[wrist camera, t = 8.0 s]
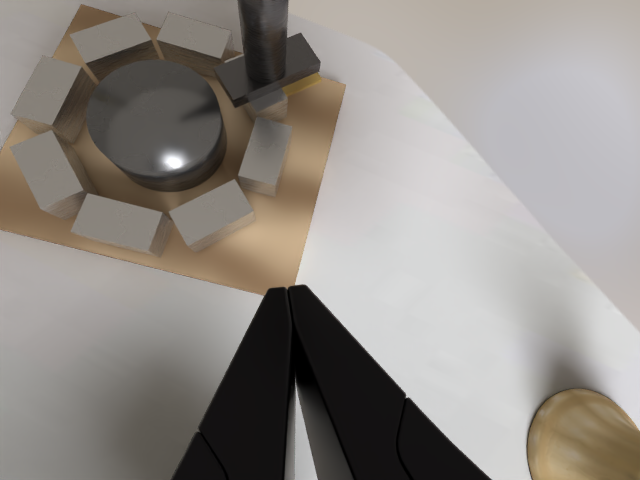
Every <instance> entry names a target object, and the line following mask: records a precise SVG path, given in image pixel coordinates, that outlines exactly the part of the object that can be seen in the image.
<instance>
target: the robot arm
mask: <svg viewBox="0 0 640 480" xmlns="http://www.w3.org/2000/svg"><path fill="white" fill-rule="evenodd" d="M295 379H296V386H297V391H298V396H299V401H300V405H301V409H302V414H303V418H304V422H305V427H306V431H307V435H308V439H309V444H310V448H311V452H312V457H313V461H314V465H315V469H316V474H317V478H318V480H492V479H490V478H489V477H488V476H487V475H486V474H485V473H484V472H483V471H482V470H481V469H480V468H479V467H477V466H476V465H475V464H474V463H473V462H472V461H471V460H470V459H469V458H468V457H467V456H466V455H465V454H464V453H463V452H462V451H460V450H459V449H458V448H457V447H456V446H455V445H454V444H453V443H452V442H451V441H450V440H449V439H448V438H447V437H446V436H445V435H444V434H443V433H442V432H441V431H440V430H439V429H438V428H437V427H436V425H435V424H434V423H433V422H432V421H431V420H430V419H429V418H428V417H427V416H426V415H425V414H424V413H423V412H422V411H421V410H420V409H419V407H418V406H417V405H416V404H415V403H414V402H413V401H412V400H411V399H410V398H409V397H408V398H406V394H405V392H404V391H403V390H402V389H401V388H400V387H399V386H398V385H397V384H396V382H395V381H394V380H393V379H392V378H391V377H390V376H389V375H388V374H387V373H386V372H385V370H384V369H383V368H382V367H381V366H380V365H379V364H378V363H377V362H376V361H375V360H374V358H373V357H372V356H371V355H370V354H369V353H368V352H367V351H366V350H365V349H364V348H363V346H362V345H361V344H360V343H359V342H358V341H357V340H356V339H355V338H354V337H353V336H352V334H351V333H350V332H349V331H348V330H347V329H346V328H345V327H344V326H343V325H342V324H341V322H340V321H339V320H338V319H337V318H336V317H335V316H334V315H333V314H332V313H331V312H330V310H329V309H328V308H327V307H326V306H325V305H324V304H323V303H322V302H321V301H320V300H319V298H318V297H317V296H316V295H315V294H314V293H313V292H312V291H311V290H310V289H309V288H308V286H306V285H294V286H289V287H288V290H287V288H286V287H274V288H269V289H268V290H267V292H266V294H265V296H264V298H263V300H262V302H261V304H260V306H259V308H258V310H257V312H256V314H255V315H254V317H253V319H252V321H251V323H250V325H249V327H248V329H247V331H246V333H245V335H244V337H243V339H242V341H241V343H240V345H239V347H238V349H237V351H236V353H235V355H234V357H233V359H232V361H231V363H230V365H229V367H228V369H227V371H226V373H225V375H224V377H223V379H222V381H221V383H220V385H219V387H218V389H217V391H216V393H215V395H214V397H213V399H212V401H211V403H210V405H209V406H208V408H207V410H206V412H205V414H204V416H203V418H202V420H201V422H200V424H199V426H198V431H199V432H196V433H195V434H194V436H193V438H192V440H191V442H190V444H189V446H188V448H187V450H186V452H185V453H184V455H183V457H182V459H181V461H180V463H179V465H178V467H177V469H176V470H175V472H174V474H173V476H172V478H171V480H294V477H295V410H296V386H295Z"/></svg>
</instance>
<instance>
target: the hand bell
mask: <svg viewBox="0 0 640 480" xmlns="http://www.w3.org/2000/svg"><path fill="white" fill-rule="evenodd" d="M528 462H529V468H530V472H531V476H532V479H533V480H640V431H639V430H638V428H637V426H636V425H635V423H634V422H633V421H632V419H631V418H630V417H629V416H628V415H627V414H626V413H625V412H624V411H623V410H622V409H621V408H620V407H619V406H618V405H617V404H615V403H614V402H613V401H612V400H610V399H609V398H607V397H605V396H603V395H601V394H599V393H597V392H594V391H591V390H586V389H569V390H565V391H562V392H559V393H557V394H555V395H554V396H552V397H550V398H549V399H548V400H546V401H545V402H544V404H543V405H542V406H541V407H540V409H539V410H538V412H537V414H536V415H535V417H534V419H533V422H532V425H531V428H530V431H529V437H528Z"/></svg>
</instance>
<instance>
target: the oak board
mask: <svg viewBox="0 0 640 480" xmlns="http://www.w3.org/2000/svg"><path fill="white" fill-rule="evenodd" d="M120 17H122V16H118V15H115V14H112V13H108V12H105V11H102V10H99V9H95V8H92V7H89V6H85V5H82V4H81V6H80V8H79V9H78V11H77V13H76V15H75V17H74V19H73V20H72V22H71V24H70V26H69V28H68V29H67V31H66V33H65V35H64V37H63V39H62V40H61V42H60V44H59V46H58V48H57V50H56V51H55V53H54V55H53V57H52V58H54V59H57V60H61V61H64V62H68V63H71V64H75V65H78V66H82V68H83V69H84V70H85V71H86V73H87V74H88V75H89V77H90V78H91V79H92V80H93V82H94V83H95V84H96V86H97V85H98V84H99V83H100V82H99V81H98V79H97V78H96V77H95V75H94V74H93V73H92V71H91V70H90V69H89V68H88V66H87V65H86V64H85V62H84V60H83V58H82V56H81V55H80V53H79V51H78V49H77V47H76V46H75V44H74V42H73V40H72V38H71V37H70V34H72V33H75V32H78V31H81V30H84V29H87V28H90V27H93V26H96V25H99V24H102V23H105V22H108V21H111V20H114V19H117V18H120ZM142 25H143V27H144V28H145V30H146V32H147V33H148V35H149V37H150V38H151V40H152V42H153V44H154V47H155V49H156V51H157V53H158V56H159V58H160V60H165V59H164V56H163V54H162V52H161V49H160V47H159V45H158V42H157V40H156V39H157V37H158V34H159V32H160V30H161V28H158V27H154V26H151V25H148V24H145V23H142ZM234 53H235V56H234V57H236V56H239V55H241V54H243V53H240V52H237V51H234ZM198 74H199V75H200V76H202V77H203V78H204V79H205V80H206V81H207V82H208V83H209V85H210V86H211V88H212V89H213V91H214V93H215V95H216V97H217V100H218V103H219V107H220V110H221V114H222V118H223V122H224V125H225V129H226V134H227V150H226V154H225V157H224V160H223V162H222V164H221V165H220V167H219V168H218V170H217V171H216V172H215V173H214V174H213V175H212V176H211V177H210V178H209V179H208V180H206V181H205V182H203V183H202V184H200V185H198V186H196V187H193V188H191V189H188V190H184V191H179V192H159V191H154V190H150V189H147V188H144V187H142V186H140V185H138V184H137V183H135V182H133V181H132V180H131V179H130V178H128V177H127V176H126V175H125V174H124V173H123V172H122V171H121V170H120V169H119V168H118V167H117V166H116V165H114V164H113V163H112V162H111V161H110V160H109V159H108V158H107V157H106V156H105V155H104V154H103V153H102V152H101V151H100V150H99V149H98V148H97V147H96V145H95V144H94V142H93V140H92V139H91V136H90V134H89V132H88V128H87V122H86V119H85V121H84V123H83V125H82V127H81V130H80V132H79V134H78V136H77V138H76V140H75V142H74V144H73V143H69V142H67V143H68V144H69V145H71V146H72V147H73V148H74V150H75V151H76V153H77V155H78V157H79V159H80V161H81V163H82V165H83V167H84V168H85V170H86V172H87V174H88V176H89V178H90V180H91V182H92V183H93V185H94V187H95V189H96V191H97V193H98V195H99V196H101V197H105V198H109V199H113V200H116V201H120V202H124V203H128V204H132V205H136V206H140V207H144V208H148V209H151V210H155V211H159V212H163V213H164V214H165V215H166V216H167V217H168V218H169V219H170V220H172V221H173V219H172V218H171V216H170V214H169V211H171V210H173V209H175V208H177V207H179V206H181V205H183V204H185V203H187V202H189V201H191V200H193V199H195V198H197V197H199V196H201V195H203V194H205V193H207V192H209V191H211V190H213V189H215V188H218V187H220V186H222V185H224V184H226V183H228V182H230V181H232V180H234V179H235V180H236V182H237V184H238V185H239V187H240V189H241V185H240V181H239V178H238V174H239V171H240V167H241V164H242V161H243V158H244V155H245V152H246V149H247V146H248V143H249V140H250V137H251V133H252V130H253V127H254V123H253V121H252V120H251V118H250V117H249V115H248V113H247V112H246V110H245V109H244V107H243V105H242V106H239V107H237V108H235V107H234V106H233V104H232V103H231V101H230V99H229V98H228V96H227V94H226V93H225V91H224V90H223V88H222V86H221V85H220V83H219V81H218V80H217V78H214V77H210V76H207V75H203V74H200V73H198ZM345 87H346V85H345V84H342V83H339V82H335V81H332V80H329V79H326V78H322V77H320V75H319V74H318V72H317V73H315V74H312V75H310V76H308V77H305V78H303V79H301V80H299V81H296V82H294V83H292V84H289V85H287V86H285V87H283V88H282V90H283V92H284V93H285V95H286V96H287V98H288V104H287V117H286V118H284V119H282V120H280V121H277V122H278V123H282V124H285V125H289V126H292V136H291V145H290V148H289V152H288V155H287V159H286V162H285V166H284V169H283V173H282V176H281V180H280V183H279V187H278V190H277V194H276V197H271V196H267V195H264V194H260V193H256V192H252V191H249V190H245V189H241V190H242V192H243V194H244V195H245V197H246V199H247V200H248V202H249V204H250V205H251V207H252V209H253V210H254V214H255V219H256V221H255V222H253V223H251V224H249V225H248V226H246V227H244V228H242V229H240V230H238V231H236V232H235V233H233V234H231V235H229V236H227V237H225V238H223V239H221V240H220V241H218V242H216V243H214V244H212V245H210V246H208V247H206V248H205V249H203V250H201V251H199V252H197V253H196V252H194V251H193V250H192V249H190V248H189V247H188V246H187V244H186V243H185V241H184V239H183V237H182V235H181V234H180V232H179V230H178V228H177V227H176V225H175V223H174V224H173V226H172V229H171V232H170V235H169V237H168V240H167V243H166V246H165V248H164V251H163V254H162V257H157V256H153V255H149V254H145V253H141V252H136V251H132V250H128V249H124V248H120V247H116V246H112V245H108V244H104V243H100V242H96V241H92V240H89V239H87V238H84V237H82V236H80V235H77V234H75V233H72V232H70V231H71V229H72V227H73V225H74V222H75V220H76V218H77V216H78V214H77V215H75V216H73V217H70V218H68V219H66V220H63V219H61V218H59V217H57V216H54V215H52V214H50V213H48V212H46V211H43V210H41V209H40V207H39V205H38V203H37V201H36V199H35V197H34V195H33V193H32V191H31V189H30V187H29V185H28V183H27V181H26V179H25V177H24V175H23V173H22V171H21V169H20V167H19V165H18V163H17V161H16V159H15V157H14V155H13V153H12V151H11V149H10V146H13V145H15V144H18V143H20V142H23V141H25V140H28V139H30V138H33V137H35V136H38V135H39V134H36V133H35V132H33V131H32V130H31V129H29V128H28V127H27V126H26V125H24V124H23V123H22V122H20V121H19V120H18V121H17V122H16V124H15V126H14V128H13V130H12V132H11V133H10V135H9V137H8V139H7V141H6V142H5V144H4V146H3V148H2V150H1V152H0V230H4V231H8V232H12V233H16V234H20V235H24V236H28V237H32V238H36V239H40V240H44V241H48V242H52V243H56V244H60V245H64V246H68V247H72V248H76V249H80V250H84V251H88V252H92V253H96V254H100V255H104V256H108V257H112V258H116V259H120V260H124V261H128V262H132V263H136V264H140V265H144V266H148V267H152V268H156V269H160V270H164V271H168V272H172V273H176V274H180V275H184V276H188V277H192V278H196V279H200V280H204V281H208V282H212V283H216V284H220V285H224V286H228V287H232V288H236V289H240V290H244V291H248V292H252V293H256V294H260V295H264V296H265V294H266V292H267V290H268V289H269V288H274V287H286V288H287V290H288V287H289V286H294V285H295V281H296V277H297V274H298V270H299V266H300V262H301V258H302V254H303V250H304V246H305V243H306V239H307V235H308V231H309V227H310V223H311V219H312V215H313V211H314V208H315V204H316V200H317V196H318V192H319V188H320V184H321V180H322V177H323V173H324V169H325V165H326V161H327V157H328V153H329V149H330V145H331V142H332V138H333V134H334V130H335V126H336V122H337V118H338V114H339V111H340V107H341V103H342V99H343V95H344V91H345ZM173 222H174V221H173Z"/></svg>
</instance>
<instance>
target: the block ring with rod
mask: <svg viewBox="0 0 640 480" xmlns="http://www.w3.org/2000/svg"><path fill="white" fill-rule="evenodd" d="M237 1H238V9H239V18H240V26H241V34H242V43H243V51H244V54H241V55H239V56H236V57H234V56H235V53H234V46H233V40H232V33H231V31H230V30H226V29H223V28H220V27H216V26H213V25H210V24H207V23H203V22H200V21H197V20H193V19H190V18H187V17H183V16H180V15H177V14H174V13H170V12H168V14H167V17H166V19H165V21H164V23H163V25H162V28H161V30H160V32H159V34H158V37H157V39H156V40H157V42H158V45H159V47H160V49H161V52H162V54H163V56H164V59H165V61H171V62H175V63H178V64H181V65H184V66H186V67H188V68H190V69H192V70H193V71H195V72H197V73H200V74H203V75H207V76H210V77H214V78H217V80H218V81H219V83H220V85H221V86H222V88H223V90H224V91H225V93H226V94H227V96H228V98H229V99H230V101H231V103H232V104H233V106H234V107H235V108H237V107H239V106H242V105H243V107H244V109H245V110H246V112H247V113H248V115H249V117H250V118H251V120H252V121H253V123H254V127H253V130H252V133H251V137H250V140H249V143H248V146H247V149H246V152H245V155H244V158H243V161H242V164H241V167H240V171H239V174H238V178H239V181H240V185H241V189H245V190H249V191H252V192H256V193H260V194H264V195H267V196H271V197H276V194H277V190H278V187H279V183H280V180H281V176H282V173H283V169H284V166H285V162H286V159H287V155H288V152H289V148H290V145H291V136H292V126H289V125H285V124H282V123H278V122H277V121H280V120H282V119H284V118H286V117H287V104H288V98H287V96H286V95H285V93H284V92H283V90H282V88H283V87H285V86H287V85H289V84H292V83H294V82H296V81H299V80H301V79H303V78H305V77H308V76H310V75H312V74H315V73H317V72H319V69H320V63H321V62H320V60H319V59H318V57H317V56H316V54H315V53H314V52H313V50H312V49H311V47H310V46H309V44H308V43H307V41H306V40H305V38H304V37H303V35H302V34H301V33H299V34H296V35H294V36H291V37H289V38H287V22H288V0H237ZM70 37H71V38H72V40H73V42H74V44H75V46H76V47H77V49H78V51H79V53H80V55H81V56H82V58H83V60H84V62H85V64H86V65H87V66H88V68H89V69H90V70H91V71H92V73H93V74H94V75H95V77H96V78H97V79H98V81H99V82H101V81H102V80H103V79H104V78H105V77H106V76H107V75H109V74H110V73H111V72H113V71H115V70H116V69H118V68H120V67H122V66H125V65H127V64H130V63H133V62H138V61H143V60H160V58H159V56H158V53H157V51H156V49H155V47H154V44H153V42H152V40H151V38H150V37H149V35H148V33H147V32H146V30H145V28H144V27H143V25H142V23H141V22H140V20H139V18H138V16H137V15H136V13H132V14H129V15H126V16H123V17H120V18H117V19H114V20H111V21H108V22H105V23H102V24H99V25H96V26H93V27H90V28H87V29H84V30H81V31H78V32H75V33H72V34H70ZM96 87H97V86H96V84H95V83H94V82H93V80H92V79H91V78H90V77H89V75H88V74H87V73H86V71H85V70H84V69H83V68H82V66H78V65H75V64H71V63H68V62H64V61H61V60H57V59H54V58H50V57H47V56H42V58H41V59H40V61H39V63H38V65H37V67H36V69H35V70H34V72H33V74H32V76H31V78H30V79H29V81H28V83H27V85H26V87H25V89H24V90H23V92H22V94H21V96H20V98H19V99H18V101H17V103H16V105H15V107H14V109H13V110H12V112H11V115H12V116H14V117H15V118H16V119H18V120H19V121H20V122H22V123H23V124H24V125H26V126H27V127H28V128H29V129H31V130H32V131H33V132H35V133H36V134H39V135H38V136H35V137H33V138H30V139H28V140H25V141H23V142H20V143H18V144H15V145H13V146H10V149H11V151H12V153H13V155H14V157H15V159H16V161H17V163H18V165H19V167H20V169H21V171H22V173H23V175H24V177H25V179H26V181H27V183H28V185H29V187H30V189H31V191H32V193H33V195H34V197H35V199H36V201H37V203H38V205H39V207H40V209H41V210H43V211H46V212H48V213H50V214H52V215H54V216H57V217H59V218H61V219H63V220H66V219H68V218H70V217H73V216H75V215H77V214H78V216H77V218H76V220H75V222H74V225H73V227H72V229H71V231H70V232H72V233H75V234H77V235H80V236H82V237H84V238H87V239H89V240H92V241H96V242H100V243H104V244H108V245H112V246H116V247H120V248H124V249H128V250H132V251H136V252H141V253H145V254H149V255H153V256H157V257H162V254H163V251H164V248H165V246H166V243H167V240H168V237H169V235H170V232H171V229H172V226H173V224H174V223H175V225H176V227H177V228H178V230H179V232H180V234H181V235H182V237H183V239H184V241H185V243H186V244H187V246H188V247H189V248H190V249H192V250H193V251H194V252H196V253H197V252H199V251H201V250H203V249H205V248H206V247H208V246H210V245H212V244H214V243H216V242H218V241H220V240H221V239H223V238H225V237H227V236H229V235H231V234H233V233H235V232H236V231H238V230H240V229H242V228H244V227H246V226H248V225H249V224H251V223H253V222H255V221H256V219H255V214H254V210H253V209H252V207H251V205H250V204H249V202H248V200H247V199H246V197H245V195H244V194H243V192H242V190H241V189H240V187H239V185H238V184H237V182H236V180H235V179H234V180H232V181H230V182H228V183H226V184H224V185H222V186H220V187H218V188H215V189H213V190H211V191H209V192H207V193H205V194H203V195H201V196H199V197H197V198H195V199H193V200H191V201H189V202H187V203H185V204H183V205H181V206H179V207H177V208H175V209H173V210H171V211H169V214H170V216H171V218H172V219H173V221H174V222H173V221H172V220H170V219H169V218H168V217H167V216H166V215H165V214H164V213H163V212H159V211H155V210H151V209H148V208H144V207H140V206H136V205H132V204H128V203H124V202H120V201H116V200H113V199H109V198H105V197H101V196H99V195H98V193H97V191H96V189H95V187H94V185H93V183H92V182H91V180H90V178H89V176H88V174H87V172H86V170H85V168H84V167H83V165H82V163H81V161H80V159H79V157H78V155H77V153H76V151H75V150H74V148H73V147H72V146H71V145H69V144H68V143H67V142H69V143H73V144H74V142H75V140H76V138H77V136H78V134H79V132H80V130H81V127H82V125H83V123H84V121H85V119H86V110H87V106H88V102H89V99H90V97H91V95H92V93H93V91H94V89H95V88H96Z"/></svg>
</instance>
